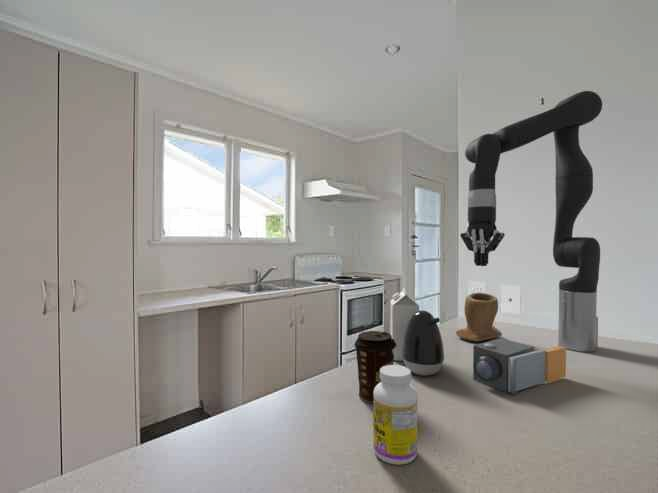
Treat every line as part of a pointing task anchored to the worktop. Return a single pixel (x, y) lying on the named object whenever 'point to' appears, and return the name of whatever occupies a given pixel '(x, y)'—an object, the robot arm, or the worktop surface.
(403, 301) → the milk carton
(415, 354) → the pump dispenser
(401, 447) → the supplement bottle
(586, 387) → the worktop surface
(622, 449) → the worktop surface
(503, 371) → the camera body
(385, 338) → the coffee cup
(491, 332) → the clay pot
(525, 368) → the grey and orange bar
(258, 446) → the worktop surface
